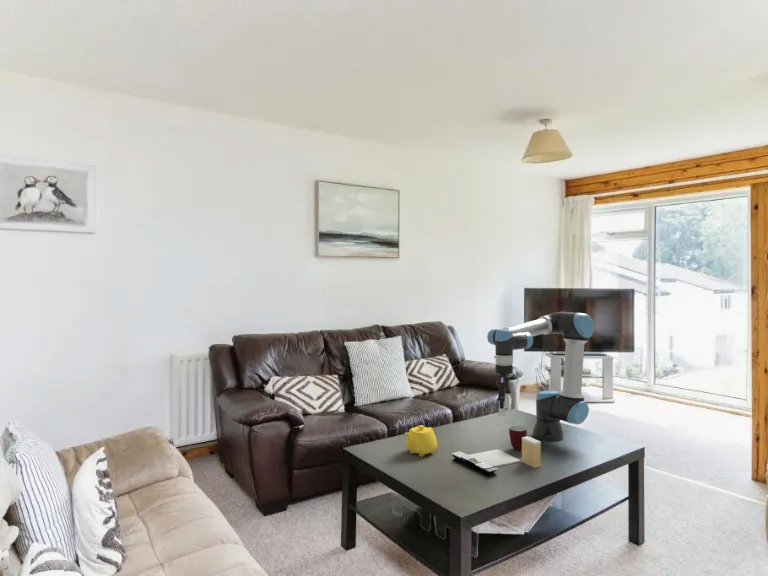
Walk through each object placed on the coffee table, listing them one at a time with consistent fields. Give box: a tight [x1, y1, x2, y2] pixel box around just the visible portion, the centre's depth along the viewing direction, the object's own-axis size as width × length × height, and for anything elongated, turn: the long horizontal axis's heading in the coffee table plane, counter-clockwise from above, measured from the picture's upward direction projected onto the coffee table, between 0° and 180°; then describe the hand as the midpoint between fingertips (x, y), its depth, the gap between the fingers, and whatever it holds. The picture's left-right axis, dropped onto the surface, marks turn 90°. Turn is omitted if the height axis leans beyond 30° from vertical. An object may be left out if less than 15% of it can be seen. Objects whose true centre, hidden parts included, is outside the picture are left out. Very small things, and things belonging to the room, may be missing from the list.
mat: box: [468, 449, 522, 468], centre depth 226 cm, size 21×16×1 cm
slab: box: [521, 435, 542, 469], centre depth 220 cm, size 4×8×11 cm, turn 25°
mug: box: [508, 425, 528, 452], centre depth 238 cm, size 10×8×10 cm
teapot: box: [404, 424, 438, 458], centre depth 234 cm, size 14×20×13 cm
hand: (504, 411), depth 223 cm, fingers open, 13 cm apart
